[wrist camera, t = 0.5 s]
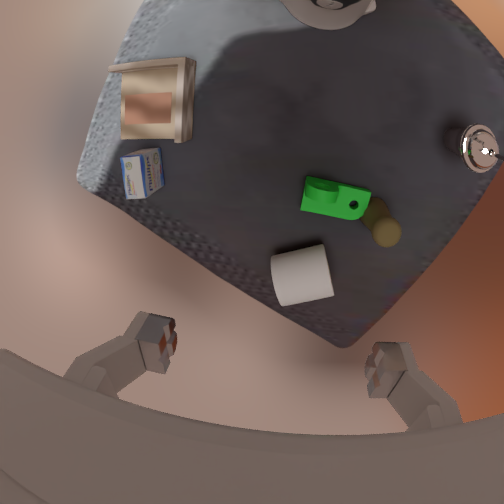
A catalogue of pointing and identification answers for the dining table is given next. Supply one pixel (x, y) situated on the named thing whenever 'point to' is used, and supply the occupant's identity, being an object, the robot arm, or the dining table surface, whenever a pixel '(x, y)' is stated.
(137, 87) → the arena
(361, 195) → the mechanical part
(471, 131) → the cup with straw
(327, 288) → the toilet paper
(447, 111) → the dining table surface
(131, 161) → the medicine box
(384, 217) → the cork
